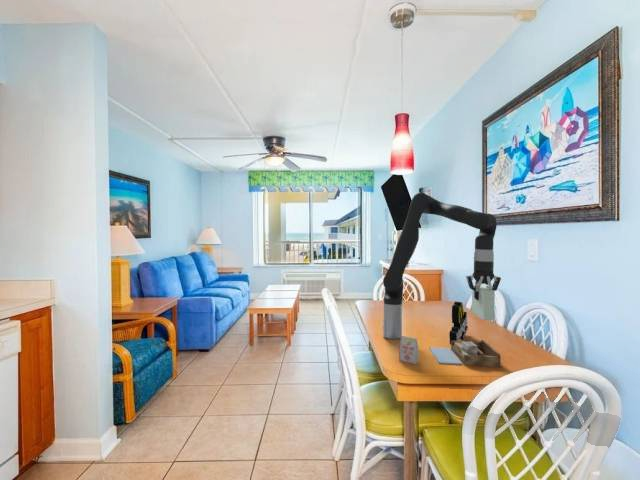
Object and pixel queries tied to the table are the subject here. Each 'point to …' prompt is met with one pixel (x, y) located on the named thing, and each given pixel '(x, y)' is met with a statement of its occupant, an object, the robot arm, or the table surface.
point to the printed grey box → (408, 350)
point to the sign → (458, 322)
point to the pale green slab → (484, 303)
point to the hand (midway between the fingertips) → (482, 299)
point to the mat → (445, 356)
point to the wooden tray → (479, 355)
